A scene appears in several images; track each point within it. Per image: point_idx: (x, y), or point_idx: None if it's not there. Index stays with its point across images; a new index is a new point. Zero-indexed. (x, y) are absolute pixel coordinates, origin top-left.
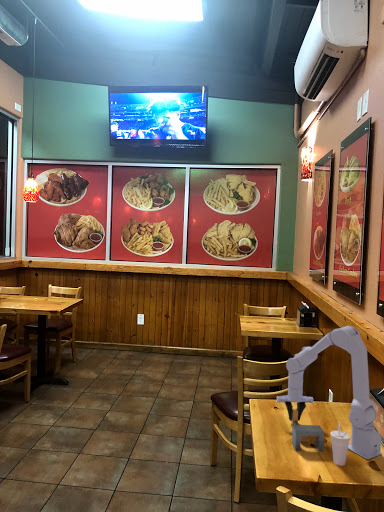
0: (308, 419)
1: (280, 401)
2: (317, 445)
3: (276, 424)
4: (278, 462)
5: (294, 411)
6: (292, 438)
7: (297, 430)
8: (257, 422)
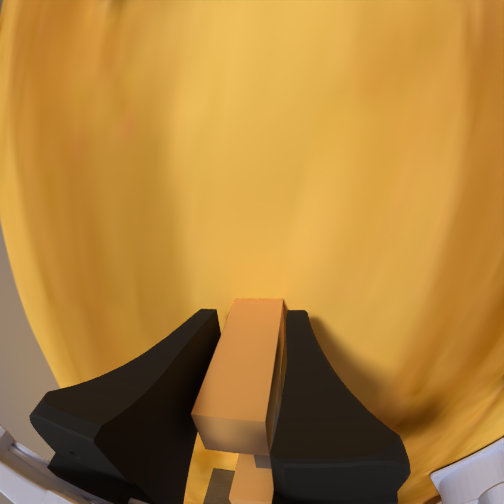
0: (436, 205)
1: (27, 458)
2: None
3: (118, 318)
4: None
5: (224, 442)
6: (208, 492)
7: None
8: (25, 287)
